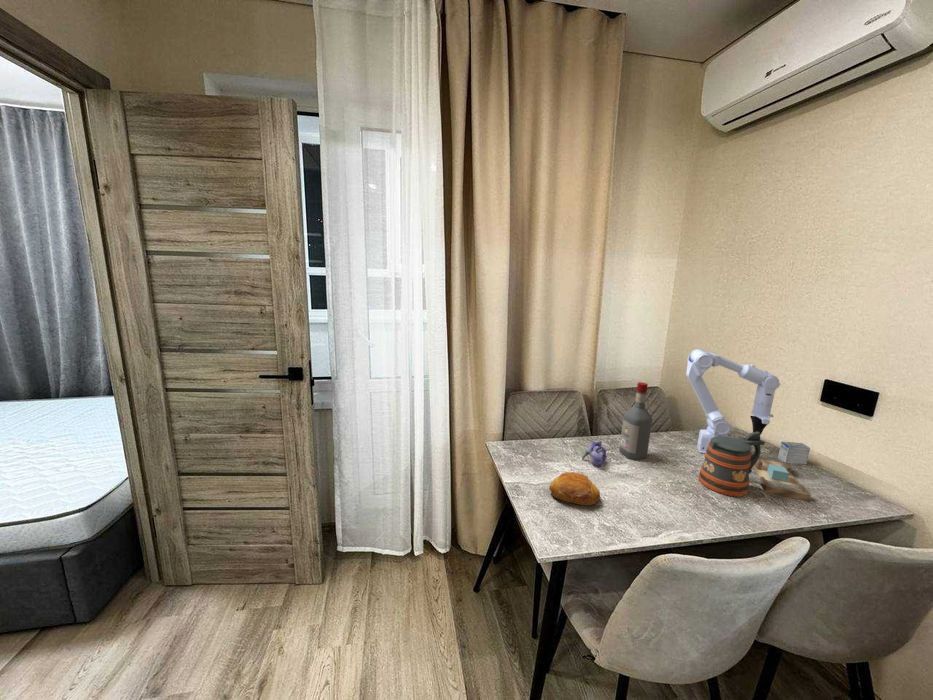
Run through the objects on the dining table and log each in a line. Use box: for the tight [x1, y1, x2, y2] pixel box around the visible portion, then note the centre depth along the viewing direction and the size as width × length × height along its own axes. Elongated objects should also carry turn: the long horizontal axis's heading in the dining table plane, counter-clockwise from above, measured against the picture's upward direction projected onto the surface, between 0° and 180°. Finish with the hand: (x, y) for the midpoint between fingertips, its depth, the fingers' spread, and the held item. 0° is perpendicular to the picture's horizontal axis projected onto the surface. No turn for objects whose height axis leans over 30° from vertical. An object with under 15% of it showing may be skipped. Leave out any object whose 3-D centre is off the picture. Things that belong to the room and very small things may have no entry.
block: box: [767, 464, 789, 482], centre depth 139 cm, size 4×5×4 cm
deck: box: [752, 457, 812, 503], centre depth 141 cm, size 12×26×4 cm, turn 157°
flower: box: [581, 441, 608, 468], centre depth 147 cm, size 9×9×10 cm
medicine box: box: [777, 441, 811, 465], centre depth 152 cm, size 8×4×9 cm, turn 84°
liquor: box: [618, 381, 653, 461], centre depth 153 cm, size 9×9×30 cm
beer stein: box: [698, 431, 766, 497], centre depth 134 cm, size 19×15×20 cm
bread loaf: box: [549, 471, 601, 506], centre depth 126 cm, size 14×16×8 cm
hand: (756, 434), depth 156 cm, fingers closed
